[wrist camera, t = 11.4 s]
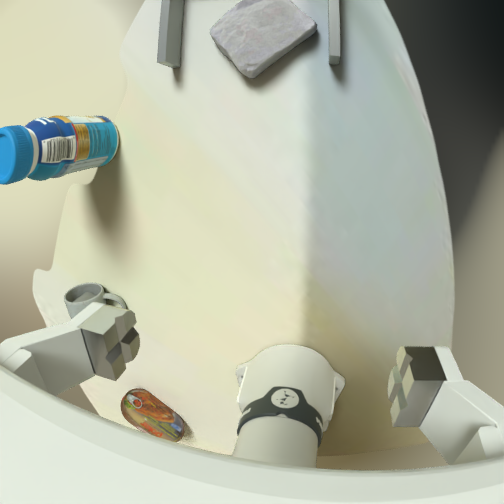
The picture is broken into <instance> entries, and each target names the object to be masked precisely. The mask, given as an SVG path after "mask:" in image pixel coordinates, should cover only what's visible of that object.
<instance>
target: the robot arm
mask: <svg viewBox="0 0 504 504" xmlns="http://www.w3.org/2000/svg"><path fill="white" fill-rule="evenodd" d="M135 324H136V318H135V313H134V312H132V311H131V310H128V309H123V308H119V307H115V306H111V305H106V304H103V303H99V302H92V303H91V304H90V305H88V306H87V307H86V308H85V309H83V310H82V311H81V312H80V313H78V314H77V315H76V316H75V317H74V318H72V319H71V320H70V321H69V322H67V323H66V324H64V323H61V324H57V325H54V326H50V327H47V328H44V329H40V330H37V331H33V332H30V333H26V334H23V335H19V336H16V337H12V338H9V339H6V340H5V341H3V342H2V343H1V344H0V504H504V407H503V406H502V405H501V404H499V403H498V402H496V401H495V400H494V399H493V398H491V397H490V396H488V395H487V394H486V393H484V392H483V391H482V390H480V389H479V388H477V387H476V386H475V385H474V384H472V383H471V382H469V381H468V380H466V381H464V380H463V377H462V375H461V373H460V371H459V368H458V366H457V364H456V362H455V360H454V357H453V355H452V353H451V351H450V349H449V348H448V347H447V346H432V347H423V346H401V347H400V348H399V350H398V353H397V356H396V359H397V365H396V366H395V367H394V368H392V370H391V373H390V376H389V382H388V398H389V400H390V401H391V402H392V403H393V405H392V407H391V409H390V411H391V418H392V425H393V427H419V429H420V430H421V431H422V432H423V433H424V435H425V436H426V437H427V438H428V440H429V441H430V442H431V443H432V444H433V446H434V447H435V448H436V449H437V451H438V452H439V453H440V454H441V456H442V457H443V458H444V459H445V460H446V461H447V463H448V464H449V466H441V467H431V468H419V469H404V470H339V469H322V468H316V461H317V449H318V447H319V446H320V444H321V439H322V435H323V431H326V430H327V428H328V424H329V421H331V418H332V414H333V410H334V403H335V402H336V400H337V398H338V396H339V395H340V393H341V391H342V390H343V388H344V386H345V379H344V377H342V376H341V375H340V374H338V373H336V372H335V371H334V370H333V369H332V367H331V366H330V364H329V363H328V361H327V360H326V359H325V358H324V357H323V356H322V355H321V354H319V353H318V352H316V351H314V350H312V349H310V348H307V347H304V346H300V345H293V344H283V345H276V346H272V347H269V348H267V349H265V350H263V351H261V352H260V353H258V354H257V355H256V356H255V357H254V358H253V359H252V360H251V361H249V362H246V363H243V364H240V365H238V366H237V368H236V376H237V379H238V383H239V387H240V390H239V393H238V397H237V403H239V407H240V410H241V412H242V415H241V417H240V419H239V423H238V430H237V434H238V439H237V442H236V445H235V448H234V451H233V454H232V456H229V455H224V454H219V453H215V452H211V451H206V450H202V449H198V448H194V447H190V446H187V445H183V444H179V443H176V442H172V441H169V440H166V439H162V438H159V437H156V436H153V435H150V434H147V433H144V432H141V431H138V430H135V429H132V428H129V427H127V426H124V425H121V424H118V423H116V422H113V421H111V420H108V419H106V418H103V417H101V416H98V415H96V414H93V413H91V412H89V411H86V410H84V409H82V408H80V407H77V406H75V405H73V404H71V403H69V402H67V401H64V400H62V399H60V398H58V397H56V395H58V394H60V393H62V392H64V391H66V390H68V389H70V388H72V387H74V386H76V385H78V384H80V383H82V382H84V381H86V380H88V379H90V378H91V377H93V376H95V375H98V376H101V377H104V378H107V379H111V380H114V381H116V380H117V379H118V378H119V377H120V376H121V374H122V373H123V372H124V371H125V369H126V364H125V363H128V362H130V361H132V360H133V359H134V358H135V357H136V355H137V353H138V350H139V347H140V338H139V334H138V332H137V331H136V330H135V328H134V326H135ZM335 387H337V388H335Z"/></svg>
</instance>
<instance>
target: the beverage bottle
mask: <svg viewBox="0 0 504 504" xmlns="http://www.w3.org/2000/svg"><path fill="white" fill-rule="evenodd" d="M118 143H119V137H118V131H117V128H116V126H115V125H114V123H113V122H112V121H111V120H110V119H109V118H107V117H104V116H71V117H70V116H66V117H64V116H52V117H49V118H46V117H41V118H38V119H35V120H33V121H31V122H29V123H28V124H27V125H26V126H21V125H17V126H7V127H3V128H0V184H10V183H14V182H17V181H20V180H23V179H24V178H26V177H28V178H30V179H33V180H39V181H42V180H46V179H49V178H58V177H61V176H64V175H66V174H69V173H72V172H77V171H81V170H85V169H89V168H93V167H100V166H103V165H105V164H107V163H109V162H110V161H111V160H112V158H113V157H114V155H115V154H116V151H117V148H118Z"/></svg>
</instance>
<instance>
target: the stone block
mask: <svg viewBox="0 0 504 504" xmlns="http://www.w3.org/2000/svg"><path fill="white" fill-rule="evenodd" d="M316 29H317V24H316V22H315V21H314V20H313V19H312V18H311V17H309V16H308V15H306V13H304V12H303V11H301V10H300V9H299V8H298V7H297V6H296V5H295V4H293V3H292V2H291V1H290V0H242V1H241V2H239V3H238V4H237V5H235V7H233V8H232V9H230V10H228V12H227V13H225V14H224V15H223V17H222V18H221V19H219V20H218V21H217V22H216V23H215V24H214V25H213V26H212V28H211V29H210V35H211V37H212V39H213V40H214V42H215V43H216V45H217V46H218V47H219V49H220V51H221V52H222V53H223V55H225V56H227V57H228V58H229V59H230V60H232V61H233V63H234V64H235V66H236V67H237V69H238V70H239V71H240V72H241V73H242V74H243V75H245V76H247V77H249V78H255V77H256V76H258V75H259V74H260V73H262V72H263V71H264V70H265V69H266V68H268V67H269V66H271V65H272V64H273V63H274V62H276V61H277V60H278V59H280V58H281V57H282V56H284V55H285V54H286V53H288V52H289V51H291V50H292V49H293V48H295V47H296V46H297V45H298V44H300V43H301V42H303V41H304V40H306V39H307V38H309V37H310V36H312V35H313V34H314V33H315V32H316Z"/></svg>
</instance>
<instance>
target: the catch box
mask: <svg viewBox="0 0 504 504" xmlns="http://www.w3.org/2000/svg"><path fill="white" fill-rule="evenodd" d="M183 9H184V0H162V5H161V15H160V27H159V40H158V55H157V63H160V64H163V65H165V66H168V67H171V68H176V67H180V55H181V37H182V22H183ZM328 21H329V64H337V65H338V64H339V59H340V18H339V0H328Z"/></svg>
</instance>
